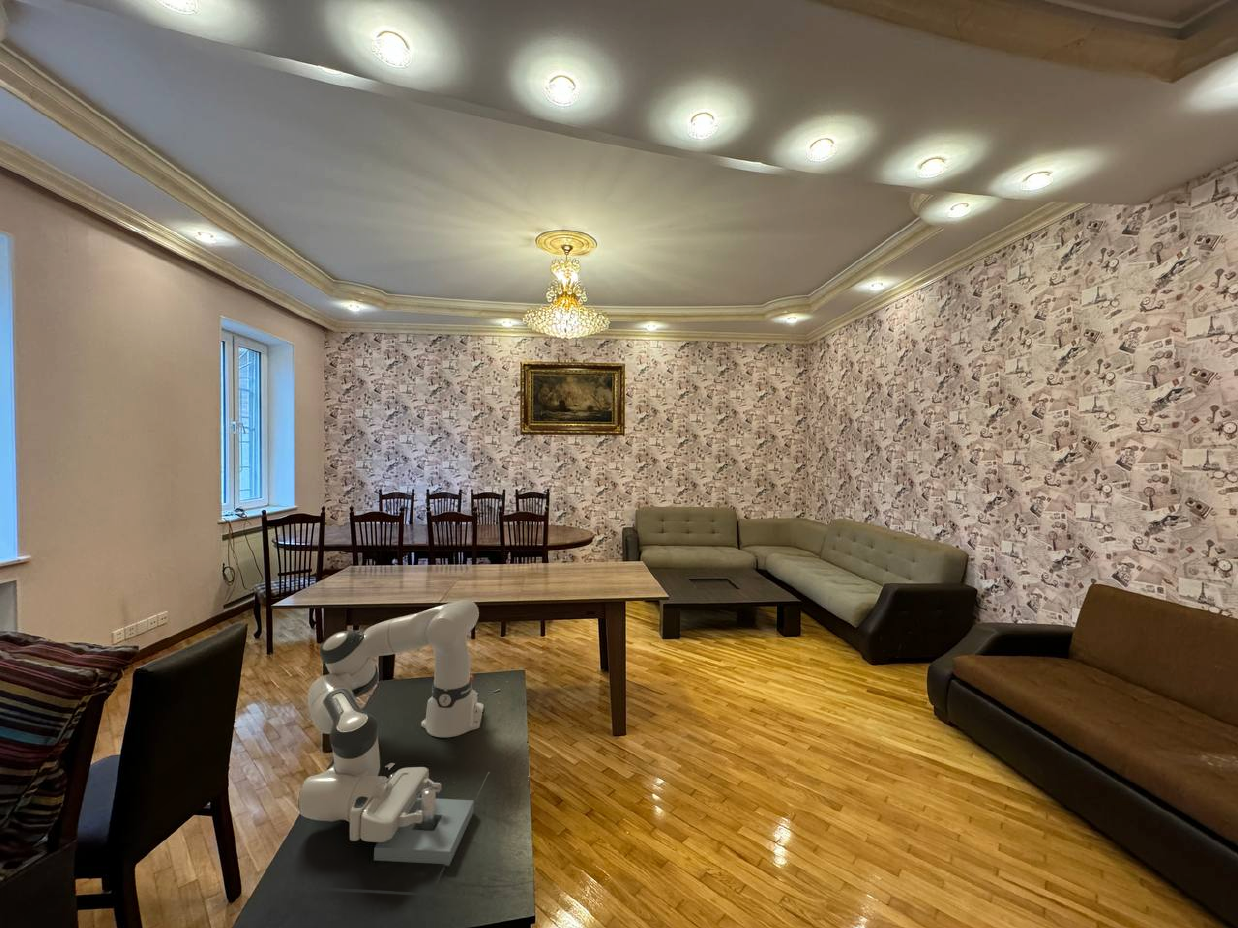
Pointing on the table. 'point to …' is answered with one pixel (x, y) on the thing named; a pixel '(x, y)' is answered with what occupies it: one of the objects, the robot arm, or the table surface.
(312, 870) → the table surface
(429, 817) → the steel pin
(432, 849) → the grey square hole board
